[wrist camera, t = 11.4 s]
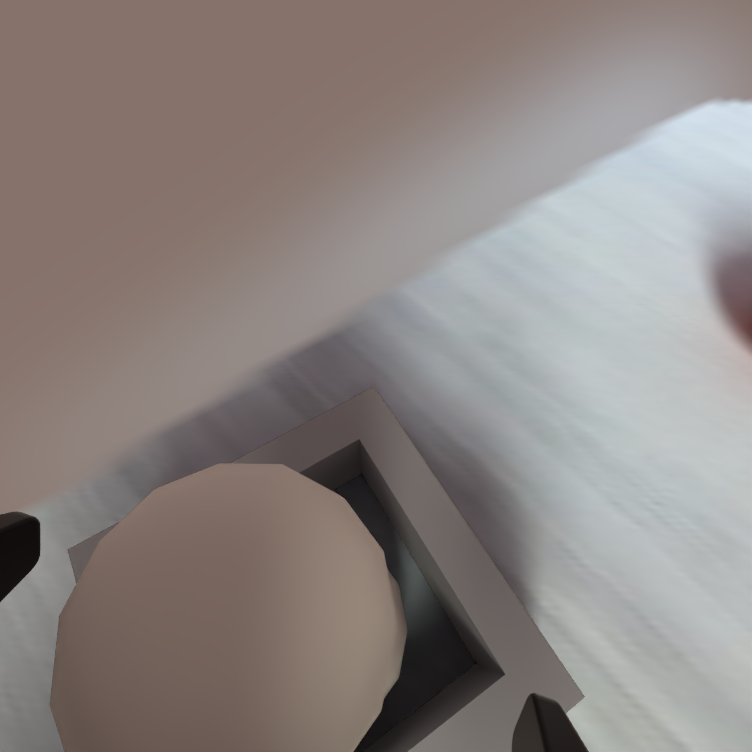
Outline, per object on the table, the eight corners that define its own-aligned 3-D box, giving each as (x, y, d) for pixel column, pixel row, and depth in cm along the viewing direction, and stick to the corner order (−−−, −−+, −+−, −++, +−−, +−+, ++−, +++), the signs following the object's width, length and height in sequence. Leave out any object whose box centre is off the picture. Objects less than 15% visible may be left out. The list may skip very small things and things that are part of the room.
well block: (241, 921, 13) (192, 1031, 9) (129, 565, 17) (67, 549, 14) (537, 681, 16) (584, 696, 12) (374, 427, 20) (374, 386, 17)
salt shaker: (379, 750, 15) (399, 1160, 3) (216, 697, 15) (-224, 894, 4) (416, 563, 18) (495, 445, 6) (276, 525, 18) (114, 356, 7)
